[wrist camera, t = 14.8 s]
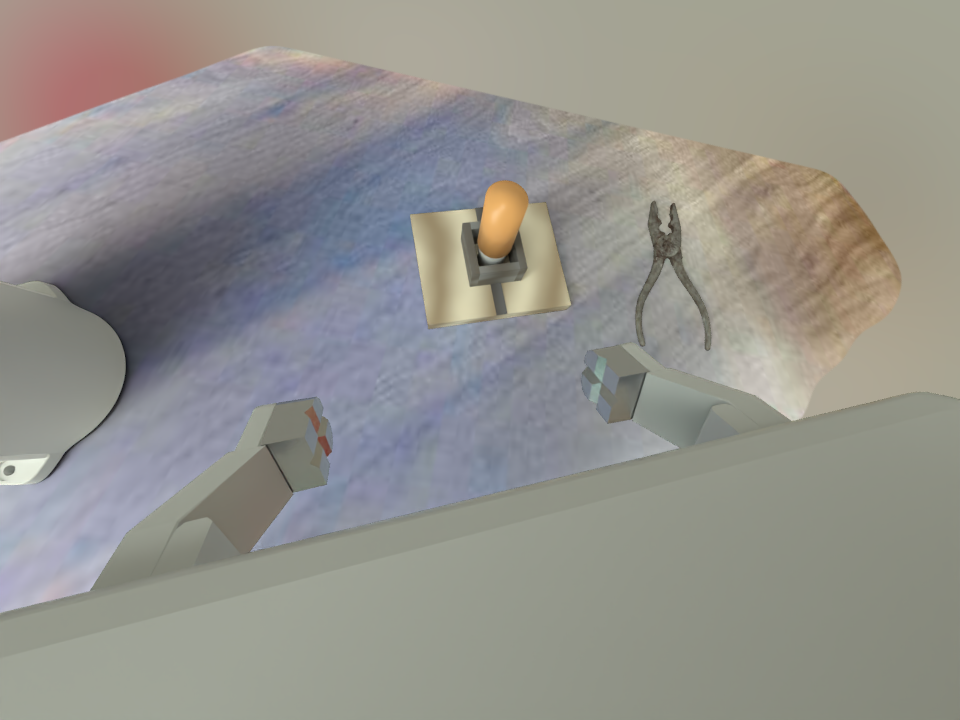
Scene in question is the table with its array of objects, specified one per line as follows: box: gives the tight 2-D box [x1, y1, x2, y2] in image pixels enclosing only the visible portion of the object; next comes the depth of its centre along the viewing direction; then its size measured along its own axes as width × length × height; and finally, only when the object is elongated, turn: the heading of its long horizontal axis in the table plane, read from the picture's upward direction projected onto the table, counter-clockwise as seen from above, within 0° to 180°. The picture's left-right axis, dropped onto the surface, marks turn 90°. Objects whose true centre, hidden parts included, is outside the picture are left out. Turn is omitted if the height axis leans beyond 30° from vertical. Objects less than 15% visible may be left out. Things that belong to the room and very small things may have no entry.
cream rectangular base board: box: [410, 202, 571, 329], centre depth 37 cm, size 16×13×4 cm
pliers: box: [635, 201, 711, 351], centre depth 42 cm, size 10×1×20 cm
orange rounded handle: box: [477, 180, 528, 266], centre depth 33 cm, size 4×4×10 cm
